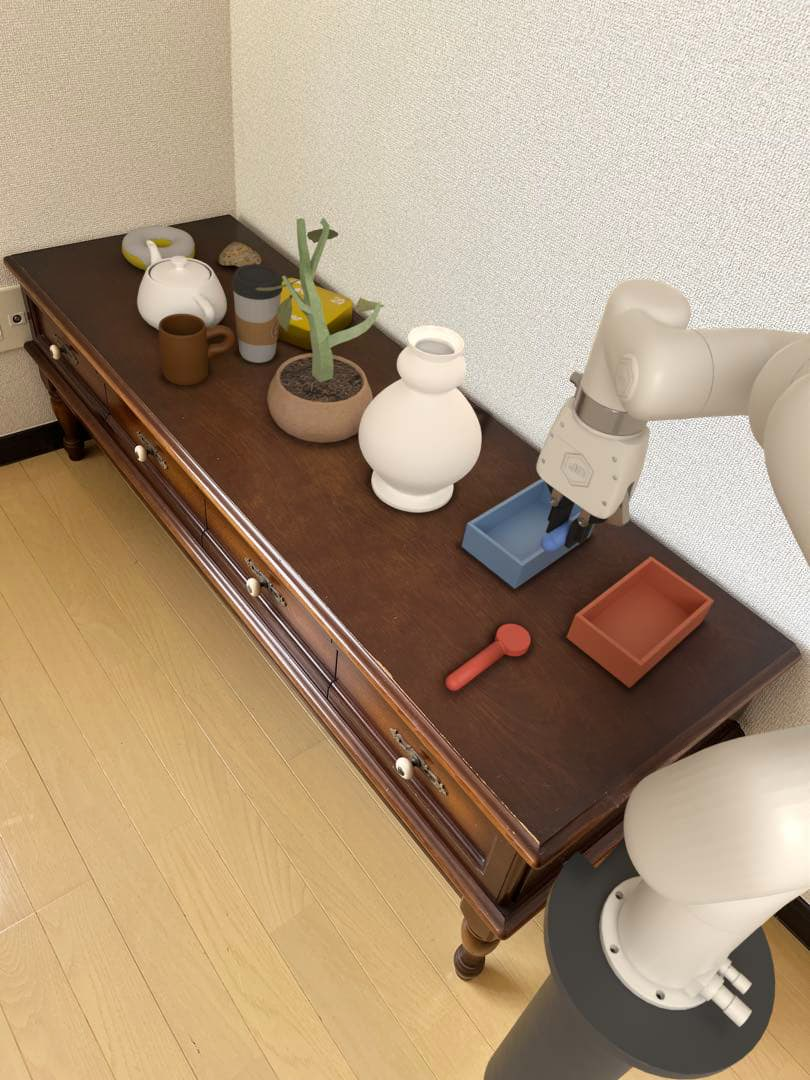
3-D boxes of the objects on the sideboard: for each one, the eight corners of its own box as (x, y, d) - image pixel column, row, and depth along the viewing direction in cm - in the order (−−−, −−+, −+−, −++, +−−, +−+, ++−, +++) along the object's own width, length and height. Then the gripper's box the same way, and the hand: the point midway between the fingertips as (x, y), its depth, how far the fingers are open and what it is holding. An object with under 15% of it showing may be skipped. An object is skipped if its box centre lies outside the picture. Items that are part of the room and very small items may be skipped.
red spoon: (459, 703, 97) (462, 693, 96) (433, 679, 99) (436, 669, 98) (535, 645, 105) (539, 635, 104) (510, 623, 107) (513, 614, 106)
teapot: (253, 343, 148) (252, 279, 139) (171, 363, 140) (166, 298, 131) (190, 281, 161) (186, 219, 152) (113, 296, 153) (104, 233, 145)
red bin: (640, 578, 116) (650, 556, 113) (701, 622, 111) (714, 600, 108) (565, 637, 107) (575, 614, 103) (629, 688, 102) (641, 666, 99)
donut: (183, 241, 172) (181, 218, 169) (206, 272, 164) (204, 248, 161) (115, 249, 166) (112, 225, 163) (135, 281, 158) (133, 256, 155)
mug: (234, 361, 143) (232, 312, 136) (237, 386, 138) (235, 337, 131) (162, 362, 140) (157, 312, 133) (162, 387, 135) (157, 337, 128)
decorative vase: (390, 538, 116) (413, 390, 98) (333, 464, 126) (344, 318, 109) (492, 505, 124) (529, 362, 106) (430, 437, 134) (455, 297, 116)
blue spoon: (557, 564, 91) (561, 552, 90) (527, 542, 93) (531, 529, 92) (629, 512, 99) (634, 500, 98) (600, 492, 101) (605, 480, 100)
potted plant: (396, 427, 135) (420, 253, 114) (304, 461, 126) (312, 279, 105) (320, 360, 146) (329, 191, 125) (230, 387, 137) (224, 209, 116)
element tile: (244, 326, 151) (244, 303, 148) (289, 295, 161) (289, 272, 158) (314, 354, 147) (315, 330, 144) (355, 320, 158) (357, 297, 154)
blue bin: (537, 499, 126) (544, 476, 123) (589, 536, 121) (598, 513, 118) (461, 546, 116) (466, 523, 113) (514, 589, 112) (522, 566, 109)
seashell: (247, 268, 162) (217, 241, 162) (238, 289, 167) (209, 262, 167) (272, 255, 168) (243, 228, 168) (263, 275, 172) (235, 249, 172)
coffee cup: (273, 370, 142) (274, 291, 132) (227, 361, 142) (224, 280, 132) (287, 346, 148) (288, 268, 138) (242, 337, 148) (240, 258, 138)
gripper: (528, 378, 83) (492, 510, 96) (657, 462, 76) (600, 592, 89) (573, 356, 87) (533, 485, 100) (700, 433, 80) (638, 561, 93)
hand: (564, 534), depth 94 cm, fingers closed on blue spoon, 2 cm apart
